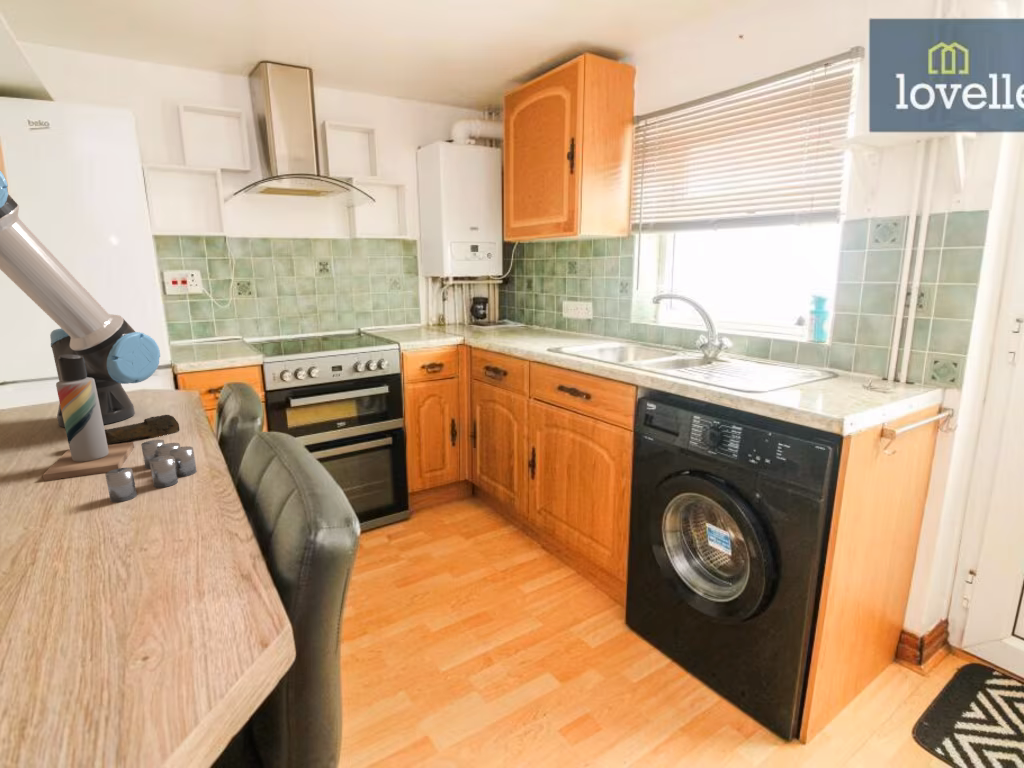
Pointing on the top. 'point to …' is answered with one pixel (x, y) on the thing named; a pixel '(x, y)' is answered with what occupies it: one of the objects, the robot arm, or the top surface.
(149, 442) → the steel spacers
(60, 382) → the lotion bottle
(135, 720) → the top surface
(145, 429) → the hand tool
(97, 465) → the brown wooden flat board
